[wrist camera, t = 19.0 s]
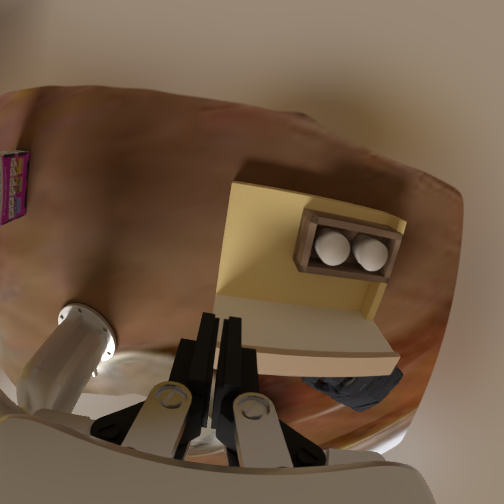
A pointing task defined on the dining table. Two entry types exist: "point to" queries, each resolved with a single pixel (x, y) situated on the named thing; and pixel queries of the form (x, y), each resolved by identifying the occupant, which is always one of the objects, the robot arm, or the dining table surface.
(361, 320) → the counter shelf
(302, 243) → the caddy
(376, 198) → the dining table surface
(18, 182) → the candy bar box
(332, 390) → the dark slate chunk
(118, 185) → the dining table surface
